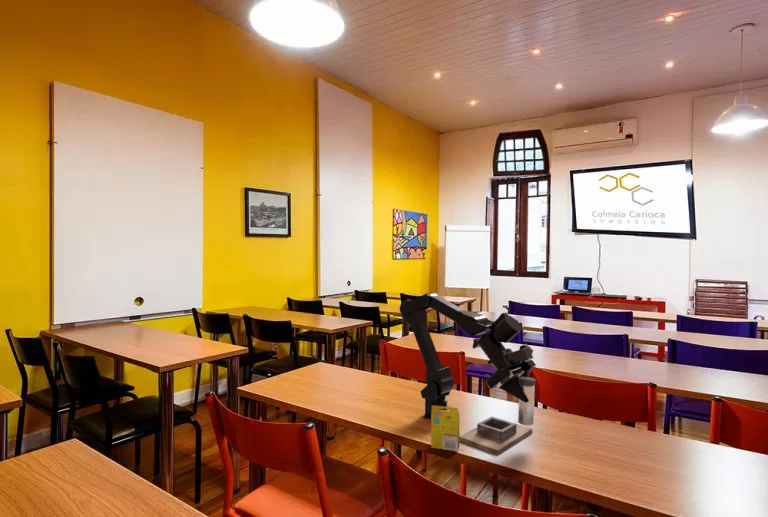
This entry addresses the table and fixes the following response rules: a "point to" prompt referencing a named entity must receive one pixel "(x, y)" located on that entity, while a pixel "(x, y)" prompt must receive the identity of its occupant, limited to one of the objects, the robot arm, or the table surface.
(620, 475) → the table surface
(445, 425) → the crayon box
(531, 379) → the capped glass jar
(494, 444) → the docking board
